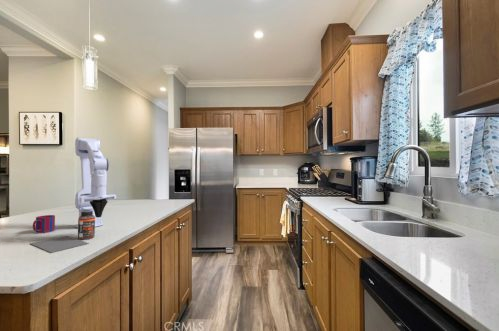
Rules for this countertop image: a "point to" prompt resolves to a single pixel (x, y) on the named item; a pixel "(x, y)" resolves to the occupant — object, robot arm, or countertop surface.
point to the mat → (58, 244)
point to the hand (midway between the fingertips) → (98, 217)
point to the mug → (44, 224)
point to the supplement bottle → (86, 225)
